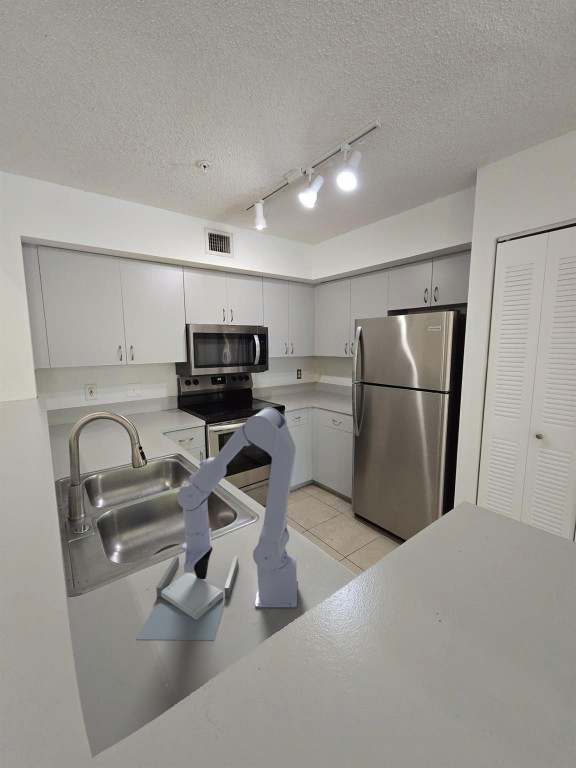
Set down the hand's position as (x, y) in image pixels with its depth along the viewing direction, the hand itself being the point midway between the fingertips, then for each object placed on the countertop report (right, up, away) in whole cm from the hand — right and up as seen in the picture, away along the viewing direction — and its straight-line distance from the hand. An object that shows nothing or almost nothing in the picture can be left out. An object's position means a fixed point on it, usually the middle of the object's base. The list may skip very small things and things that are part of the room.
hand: (201, 578), depth 81 cm
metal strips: (-1, -1, +1) cm, 1 cm away
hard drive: (-1, -2, -4) cm, 5 cm away
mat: (-1, -2, -11) cm, 11 cm away
